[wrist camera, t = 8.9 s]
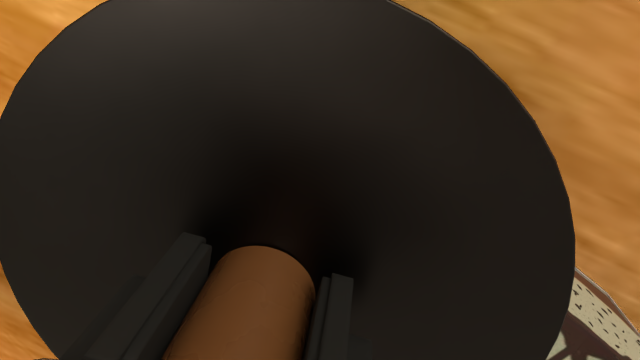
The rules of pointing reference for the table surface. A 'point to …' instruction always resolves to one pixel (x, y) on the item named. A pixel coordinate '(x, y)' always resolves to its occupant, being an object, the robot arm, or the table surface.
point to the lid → (284, 180)
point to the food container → (594, 327)
